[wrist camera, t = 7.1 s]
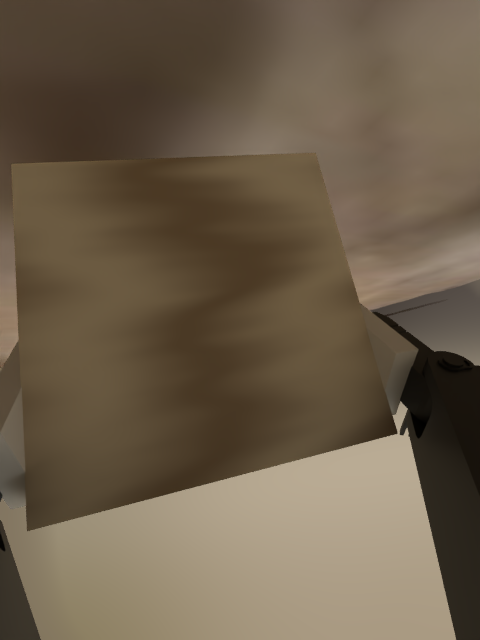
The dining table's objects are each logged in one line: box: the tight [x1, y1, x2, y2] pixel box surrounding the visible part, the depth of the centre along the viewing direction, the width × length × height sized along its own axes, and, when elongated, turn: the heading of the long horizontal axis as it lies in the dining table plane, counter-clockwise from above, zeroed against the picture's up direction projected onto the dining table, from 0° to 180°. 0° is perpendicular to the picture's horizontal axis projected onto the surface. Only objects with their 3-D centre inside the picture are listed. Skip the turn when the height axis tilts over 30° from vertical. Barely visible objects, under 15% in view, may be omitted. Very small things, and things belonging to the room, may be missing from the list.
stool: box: [11, 153, 397, 531], centre depth 15 cm, size 10×12×10 cm
